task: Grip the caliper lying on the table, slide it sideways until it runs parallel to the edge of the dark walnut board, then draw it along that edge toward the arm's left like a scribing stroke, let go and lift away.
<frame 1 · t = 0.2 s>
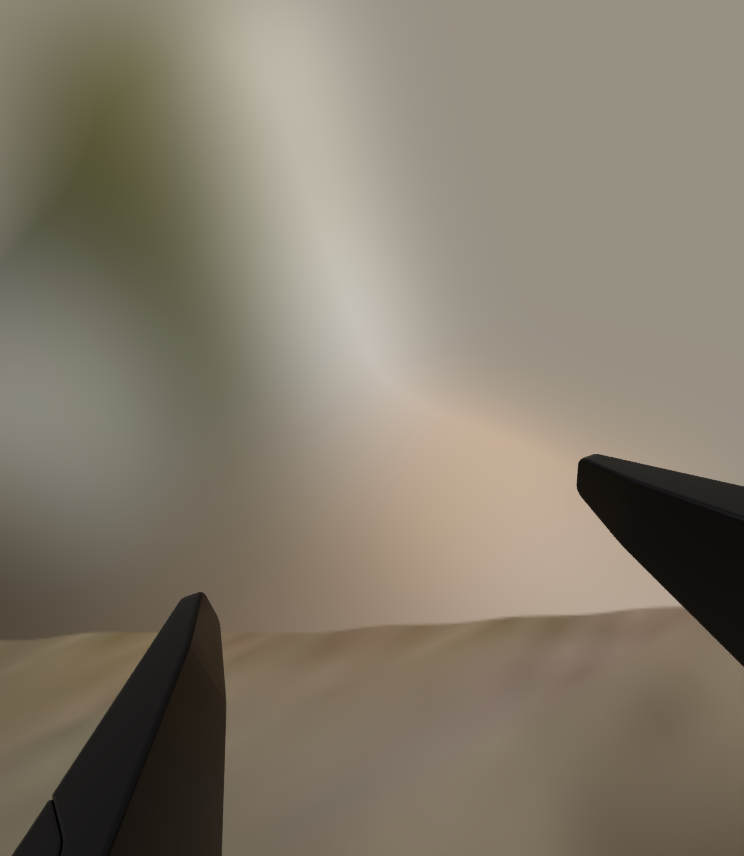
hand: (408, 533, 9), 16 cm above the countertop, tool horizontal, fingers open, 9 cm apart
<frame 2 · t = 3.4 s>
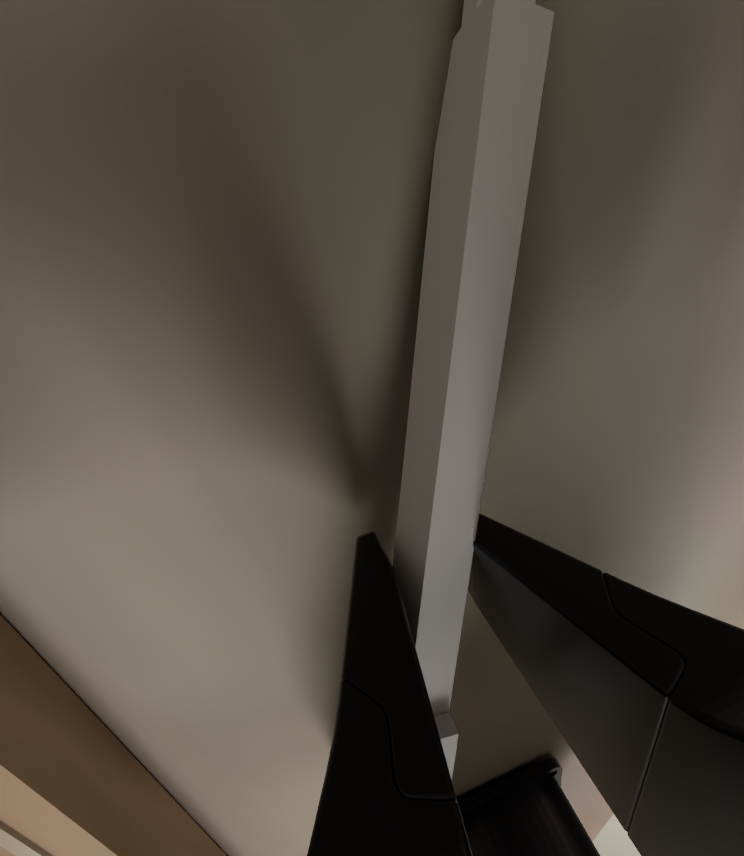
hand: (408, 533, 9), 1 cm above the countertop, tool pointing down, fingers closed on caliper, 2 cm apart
caliper: (387, 493, 10), on the countertop, touching gripper
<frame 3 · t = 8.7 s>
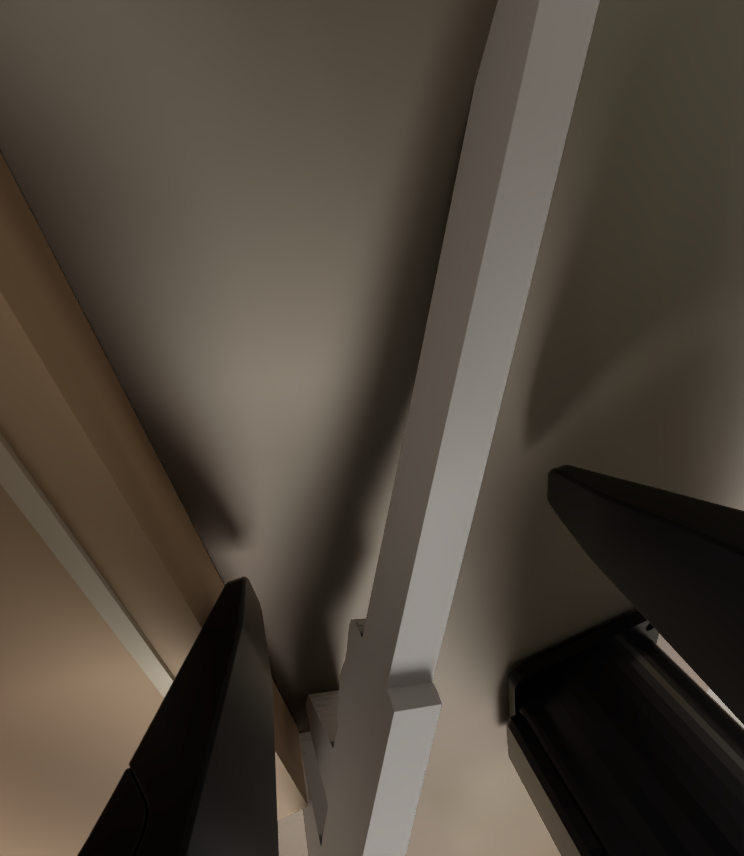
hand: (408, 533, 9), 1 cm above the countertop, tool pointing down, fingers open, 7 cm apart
caliper: (384, 455, 10), on the countertop
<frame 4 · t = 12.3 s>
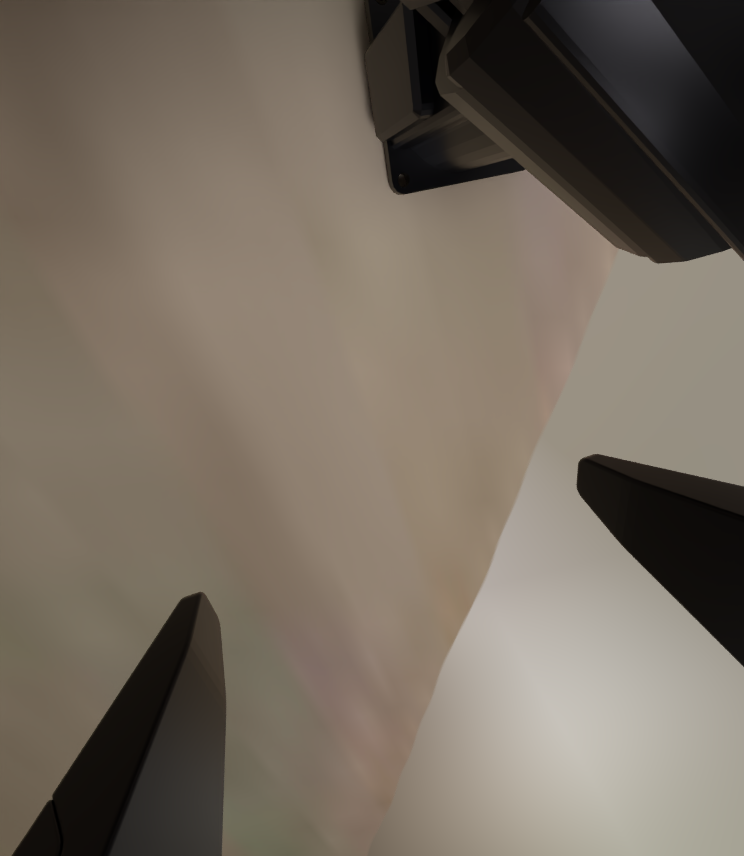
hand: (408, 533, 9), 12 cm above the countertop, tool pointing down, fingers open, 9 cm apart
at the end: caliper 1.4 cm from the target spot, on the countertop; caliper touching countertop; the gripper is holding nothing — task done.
